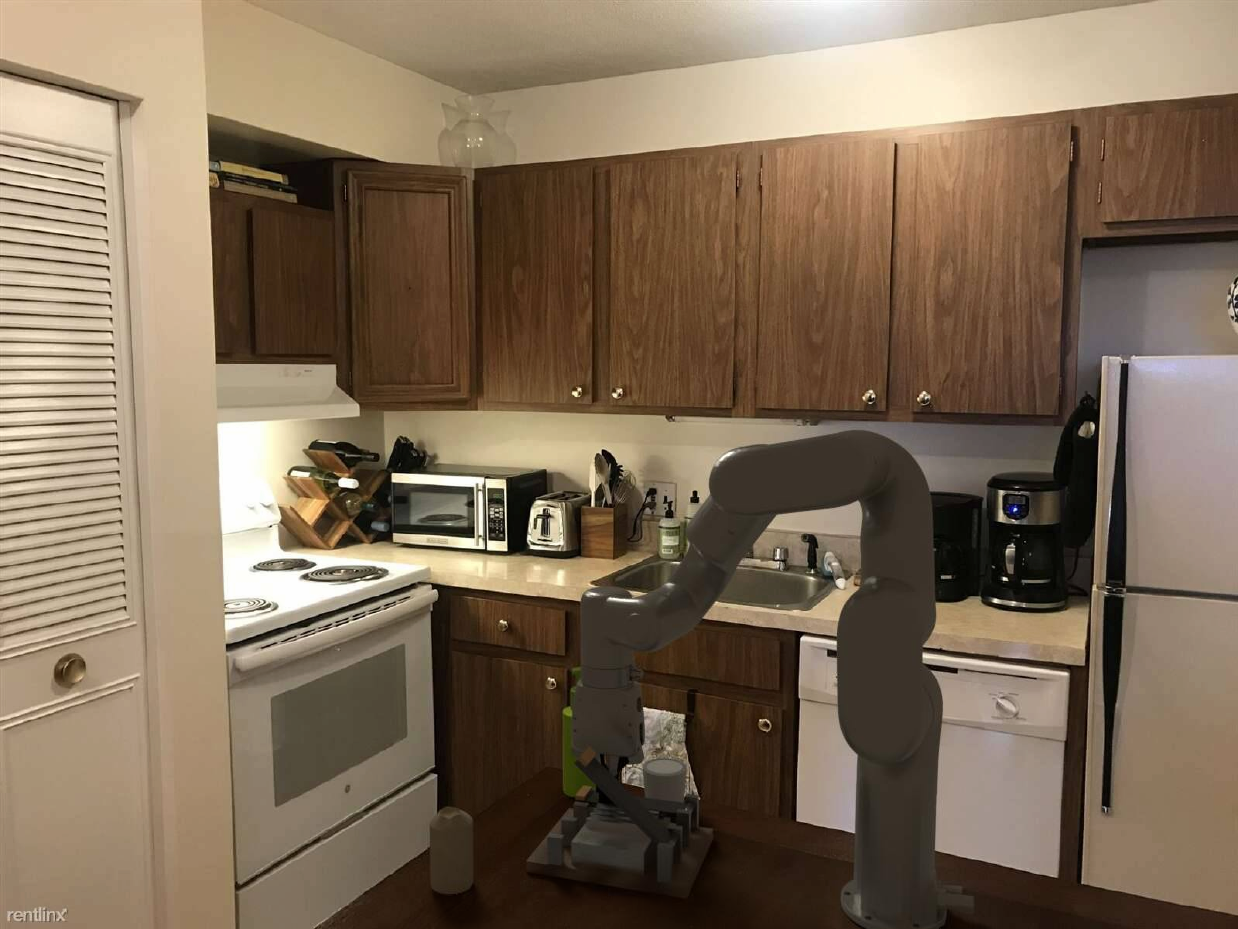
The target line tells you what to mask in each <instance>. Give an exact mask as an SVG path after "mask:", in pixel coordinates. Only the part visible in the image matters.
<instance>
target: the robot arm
mask: <svg viewBox="0 0 1238 929" xmlns="http://www.w3.org/2000/svg"><path fill="white" fill-rule="evenodd" d="M708 490H709V495H708V497H707V498H706V499H705V501H704V502H703V503H702V504H701V506H700V507H699V509H698V510H697V511H696V513H695V514H694V515H693V516H692V518H691V519H690V520H689V521H688V523H687V525H686V528H685V535H686V540H687V541H688V544H689V546H688V549H687V551H686V554H685V555H684V557H683V558H682V559H681V561H680V562H679V564H678V566H677V567H676V569H675V570H674V571H673V573H672V574H671V575H670V577H668V579H667V580H666V581H665V582H664V584H662V585H661V587H659V588H656V589H655V590H651V591H649V592H647V593H645V594H642V595H638V596H635V597H633V595H632V593H631V591H629V590H627V589H626V588H622V587H620V586H619V587H618V586H613V585H612V586H611V585H610V586H607V585H605V586H594V587H591V588H589V589H586V590H585V591H584V592H583V593H582V594H581V597H580V606H579V607H580V610H579V612H580V618H579V619H580V667H581V679H580V680H579V681H578V682H577V685H576V684H575V686H576V690H575V695H574V702H573V709H572V720H571V743H572V749H571V754H572V755H574V756H576V757H580V756H581V755H582V754H583V753H584V752H585V751H586V749H587V748H588V747H590V748H591V749H592V750H593V751H594V752H595V753H596V755H595V758H596V759H597V760H598V761H599V762H600V763H601V764H602V765H603V766H604V767H605V768H606V769H607V770H608V771H609V772H610V773H611V774H612V775H613V776H614V777H615V778H616V779H617V780H618V781H619V782H620V772H621V771H622V770H623V769H624V768H625V767H627V766H629V765H630V766H632V765H639V764H641V763H642V762H643V761H644V760H645V754H644V750H643V746H644V745H645V743H646V724H645V712H644V703H643V697H642V692H641V691H642V690H641V686H640V683H639V682H638V681H635V680H642V679H643V676H644V670H643V669H640V668H638V667H636V665H635V664H636V663H635V661H634V651H636V652H640V653H645V654H647V653H654V652H657V651H659V650H661V649H663V648H664V647H666V646H668V645H669V644H671V643H672V642H674V641H676V640H678V639H680V638H681V637H684V636H685V635H687V634H689V633H690V632H691V631H692V630H694V628H695V627H696V626H697V625H698V624H699V623H700V621H702V620H703V618H704V617H705V616H706V615H707V613H708V612H709V610H710V609H711V608H712V607H713V606H714V604H715V603H716V602H717V601H718V599H719V598H720V597H721V595H722V594H723V592H724V591H725V589H726V588H727V586H728V584H729V583H730V581H731V579H732V578H733V576H734V574H735V573H736V571H737V568H738V565H739V564H740V563H741V562H742V560H743V559H744V557H745V556H746V555H747V553H748V552H749V551H750V550H751V548H752V547H753V546H754V544H756V543H757V541H758V540H759V538H760V537H761V536H762V534H763V533H764V532H765V531H766V530H767V528H768V527H769V526H770V525H771V523H772V522H773V521H774V519H775V518H776V517H777V515H778V516H779V515H785V514H786V515H787V514H794V513H795V514H796V513H803V512H810V511H811V512H812V511H822V510H828V509H835V508H840V507H846V506H848V505H851V504H854V503H856V502H859V505H860V508H861V513H862V514H861V516H862V518H861V526H860V527H861V528H860V534H859V535H860V538H859V540H860V541H859V546H860V582H859V587H858V589H857V590H856V591H855V592H853V593H852V594H851V595H850V596H849V598H848V599H847V600H846V601H845V603H844V605H843V607H842V608H841V610H840V614H839V617H838V622H837V630H836V682H837V683H836V688H837V696H836V697H837V699H836V700H837V717H838V718H837V719H838V723H839V728H840V731H841V734H842V736H843V739H844V740H845V741H846V744H847V745H848V747H849V748H850V749H851V750H852V751H853V752H854V753H855V755H857V760H856V780H855V781H856V782H855V810H854V811H855V818H854V824H855V826H854V858H853V859H854V861H853V864H854V865H853V879H851V880H850V881H849V882H847V883H846V884H845V885H844V886H843V887H842V889H841V892H840V904H841V908H842V910H843V911H844V914H846V915H847V917H848V918H850V919H851V920H852V921H853V922H854V923H856V925H857V924H858V925H859V926H860V927H862V928H864V929H939V928H940V927H942V926H943V927H944V925H945V924H946V922H945V921H947V910H950V911H957V912H960V913H967V914H972V915H973V914H974V912H975V910H974V909H975V899H974V898H975V897H974V896H972V895H965V894H963V887H962V886H959V885H947V884H943V882H942V881H938V879H937V878H938V875H937V869H935V863H936V861H935V860H936V859H935V858H936V835H937V834H936V830H937V800H938V798H937V797H938V778H939V777H938V776H939V759H940V758H939V756H940V746H941V745H940V744H941V737H942V736H941V734H942V725H943V714H944V700H943V699H944V698H943V692H942V688H941V686H940V683H939V681H938V679H937V677H936V676H935V675H934V673H933V672H932V670H931V669H930V668H929V667H928V666H926V665H925V664H924V663H923V662H924V660H923V658H924V657H923V654H924V652H923V651H924V645H925V644H926V643H927V641H928V640H929V639H930V637H931V635H932V634H933V633H934V632H933V631H934V630H935V627H936V623H937V622H936V621H937V607H936V606H937V604H936V586H935V585H936V583H935V582H936V581H935V579H936V578H935V577H936V576H935V574H936V573H935V572H936V571H935V569H936V568H935V550H934V549H935V548H934V518H933V517H934V516H933V515H934V514H933V503H932V496H931V492H930V486H929V483H928V481H927V477H926V476H925V473H924V472H923V469H922V467H921V466H920V465H919V463H918V461H917V460H916V458H914V456H913V455H912V454H911V453H910V452H909V451H908V450H907V449H906V448H904V447H903V446H902V445H901V444H899V443H898V442H896V441H895V440H893V439H890V438H889V437H887V436H884V435H883V434H880V433H878V432H874V431H871V430H865V429H849V430H843V431H839V432H835V433H829V434H823V435H818V436H817V435H816V436H812V437H805V438H800V439H794V440H788V441H781V442H777V443H776V442H775V443H770V444H768V443H758V444H751V445H745V446H739V447H735V448H732V449H730V450H728V451H726V452H725V453H723V454H722V455H721V456H720V457H719V458H718V459H717V460H716V462H715V463H714V464H713V466H712V469H711V471H710V475H709V478H708ZM606 756H610V759H609V764H608V765H607V759H606ZM608 766H609V767H608ZM596 793H599V802H603V801H606V803H610V802H611V801H612V800H610V799H609V798H608V797H607V796H606V795H605V794H604V793H603V792H602V791H601V790H600V789H599V788H598V787H597V786H596ZM943 927H942V928H943ZM940 929H941V928H940Z"/></svg>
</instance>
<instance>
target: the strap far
mask: <svg viewBox="0 0 1238 929" xmlns="http://www.w3.org/2000/svg"><path fill="white" fill-rule="evenodd" d="M633 796H634V797H635V798H636V799H637V800H638V801H639V802H640V803H641V804H642V805H644V806H645V807H646V808H647V809H648V810H650V811H657V812H659V816H660V817H668V818H670V819H675V820H676V812H677V810H678V809H683V810H690V811H691V813H692V811H693V809H694V807H695V805H694V803H693V802H688V803H685V802H684V803H683V802H675V801H667V800H660V799H652V798H645V796H637V795H636V796H635V795H633ZM574 799H575V800H574V803H575V802H576V801H577V802H584V803H589V807H595V808H597V804H598V803H600V804H607V805H614V806H617V805H616V804H615V803H614V802H613V801H611V802H610V803H606V801H603V802H599V793H596V791H592V787H591V786H582V788H581V789H580V790H579V791H578V793H577V794H576V795H575V798H574Z"/></svg>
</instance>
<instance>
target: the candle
mask: <svg viewBox="0 0 1238 929" xmlns="http://www.w3.org/2000/svg"><path fill="white" fill-rule="evenodd" d="M473 820H474V819H473V817H472V816H471V815H470V814H469V813H467V812H466V811H464V810H461V809H460V808H457V807H453V806H450V805H447V806H445V807H443V808H442V809H440V810H439V811H438V812H437V813H436V814H435V815H434V816H433V817H432V819H430V820H429V864H430V865H429V868H430V870H429V871H430V872H429V873H430V874H429V876H430V888H431V887H432V888H431V890H432V889H433V890H435V891H437V892H439V893H443V894H455V893H456V895H459V894H458V893H460V894H463V893H465V892H467V891H469V890H470V889H471V888H472V887H471V886H473V885H472V884H474V825H473V823H474V821H473ZM433 890H432V891H433ZM466 890H467V891H466ZM462 892H463V893H462Z"/></svg>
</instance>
